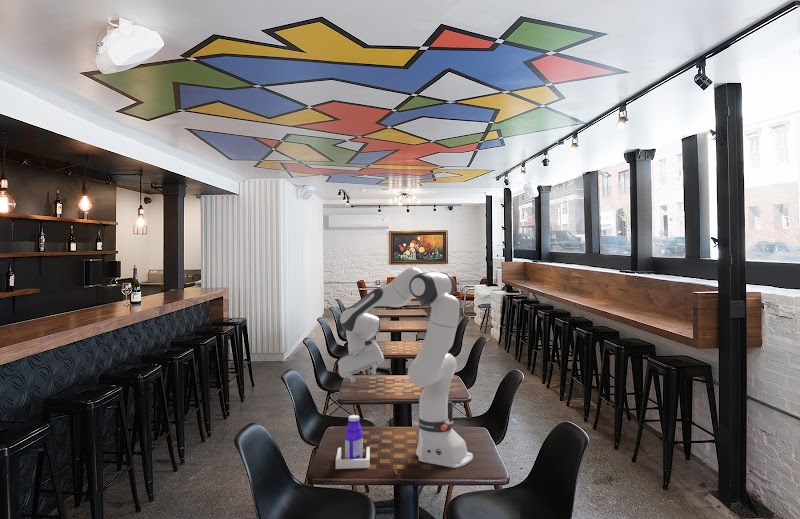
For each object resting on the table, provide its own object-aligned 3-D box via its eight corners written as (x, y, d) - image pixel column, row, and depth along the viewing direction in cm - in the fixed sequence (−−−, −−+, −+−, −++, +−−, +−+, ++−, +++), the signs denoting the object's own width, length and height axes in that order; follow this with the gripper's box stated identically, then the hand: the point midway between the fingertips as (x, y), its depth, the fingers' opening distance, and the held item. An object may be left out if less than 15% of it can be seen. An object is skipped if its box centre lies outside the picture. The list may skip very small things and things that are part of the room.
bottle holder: (338, 455, 189) (338, 447, 189) (369, 454, 189) (369, 446, 189) (335, 468, 176) (335, 460, 176) (369, 467, 177) (369, 459, 177)
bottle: (353, 457, 187) (353, 412, 187) (365, 460, 184) (365, 414, 184) (342, 464, 181) (341, 417, 181) (354, 467, 178) (353, 420, 178)
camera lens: (433, 437, 207) (432, 402, 207) (435, 430, 215) (435, 397, 215) (451, 438, 205) (451, 403, 205) (453, 431, 213) (453, 398, 213)
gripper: (334, 356, 208) (337, 383, 198) (376, 338, 206) (382, 365, 196) (340, 363, 213) (344, 390, 203) (382, 345, 210) (388, 372, 200)
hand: (363, 377), depth 199 cm, fingers open, 8 cm apart
